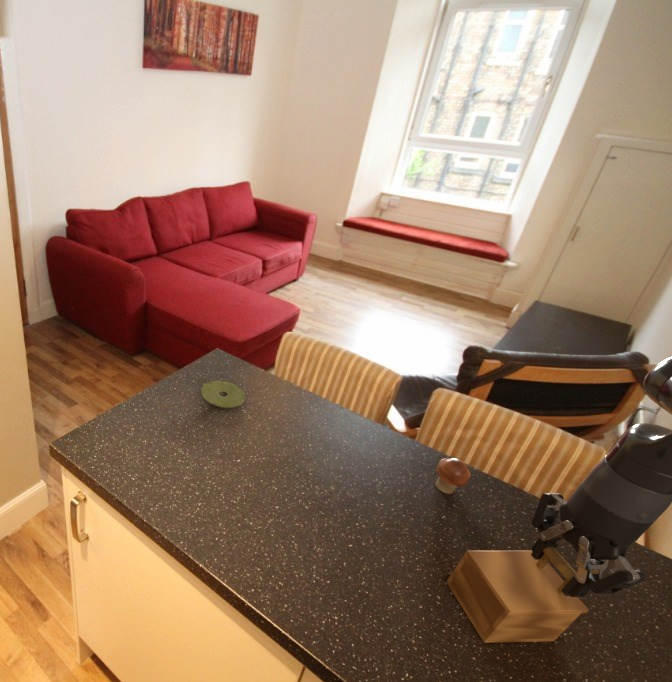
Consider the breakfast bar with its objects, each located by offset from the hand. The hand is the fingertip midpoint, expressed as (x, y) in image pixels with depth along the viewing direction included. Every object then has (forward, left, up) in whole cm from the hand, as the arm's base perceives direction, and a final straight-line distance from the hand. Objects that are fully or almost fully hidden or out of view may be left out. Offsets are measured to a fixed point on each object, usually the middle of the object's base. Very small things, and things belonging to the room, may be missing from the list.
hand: (552, 574), depth 67 cm
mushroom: (+7, -24, -9) cm, 27 cm away
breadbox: (+4, +2, -9) cm, 10 cm away
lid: (+4, +2, -2) cm, 4 cm away
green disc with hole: (+57, -34, -10) cm, 67 cm away
